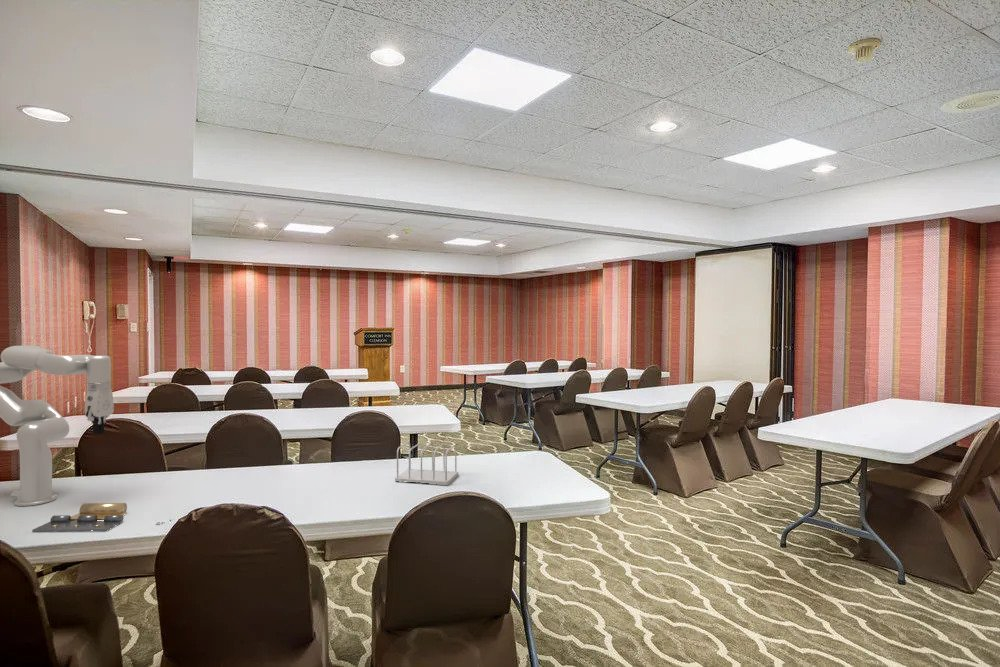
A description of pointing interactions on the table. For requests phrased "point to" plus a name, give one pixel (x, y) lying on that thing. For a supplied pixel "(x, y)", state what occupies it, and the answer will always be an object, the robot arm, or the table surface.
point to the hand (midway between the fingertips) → (98, 433)
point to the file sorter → (428, 475)
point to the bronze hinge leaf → (101, 510)
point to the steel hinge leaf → (79, 523)
